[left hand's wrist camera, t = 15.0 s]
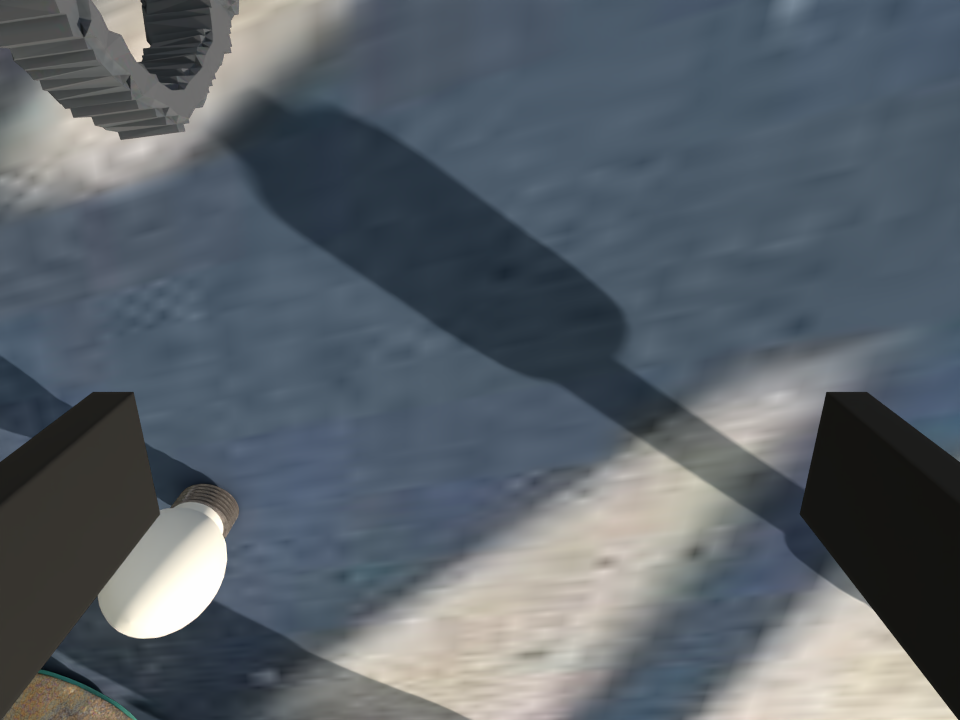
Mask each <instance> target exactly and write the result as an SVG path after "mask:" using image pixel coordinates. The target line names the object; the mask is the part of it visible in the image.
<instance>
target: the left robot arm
mask: <svg viewBox="0 0 960 720" xmlns="http://www.w3.org/2000/svg"><path fill="white" fill-rule="evenodd" d="M159 515H160V511H159V506H158V502H157V497H156V493H155V488H154V484H153V479H152V474H151V470H150V465H149V461H148V456H147V451H146V447H145V442H144V438H143V433H142V429H141V424H140V419H139V415H138V410H137V406H136V401H135V397H134V392H92V393H91V394H90V395H89V396H87V397H86V398H85V399H83V400H82V401H81V402H79V403H78V404H77V405H75V406H74V407H73V408H71V409H70V410H69V411H67V412H66V413H65V414H63V415H62V416H61V417H59V418H58V419H57V420H55V421H54V422H53V423H51V424H50V425H49V426H47V427H46V428H45V429H43V430H42V431H41V432H40V433H38V434H37V435H36V436H34V437H33V438H32V439H30V440H29V441H28V442H26V443H25V444H24V445H22V446H21V447H20V448H18V449H17V450H16V451H14V452H13V453H12V454H10V455H9V456H8V457H6V458H5V459H4V460H2V461H1V462H0V720H2V719H3V717H4V716H5V715H6V713H7V712H8V711H9V710H10V708H11V707H12V706H13V704H14V703H15V702H16V701H17V699H18V698H19V697H20V695H21V694H22V693H23V691H24V690H25V689H26V688H27V686H28V685H29V684H30V682H31V681H32V680H33V678H34V677H35V676H36V675H37V673H38V672H39V671H40V669H41V668H42V667H43V666H44V664H45V663H46V662H47V660H48V659H49V658H50V656H51V655H52V654H53V653H54V651H55V650H56V649H57V647H58V646H59V645H60V644H61V642H62V641H63V640H64V638H65V637H66V636H67V634H68V633H69V632H70V631H71V629H72V628H73V627H74V625H75V624H76V623H77V621H78V620H79V619H80V618H81V616H82V615H83V614H84V612H85V611H86V610H87V609H88V607H89V606H90V605H91V603H92V602H93V601H94V599H95V598H96V597H97V596H98V594H99V593H100V592H101V590H102V589H103V588H104V586H105V585H106V584H107V583H108V581H109V580H110V579H111V577H112V576H113V575H114V574H115V572H116V571H117V570H118V568H119V567H120V566H121V564H122V563H123V562H124V561H125V559H126V558H127V557H128V555H129V554H130V553H131V551H132V550H133V549H134V548H135V546H136V545H137V544H138V542H139V541H140V540H141V539H142V537H143V536H144V535H145V533H146V532H147V531H148V529H149V528H150V527H151V526H152V524H153V523H154V522H155V520H156V519H157V518H158V517H159ZM800 515H801V517H802V518H803V519H804V520H805V522H806V523H807V524H808V526H809V527H810V528H811V529H812V531H813V532H814V533H815V535H816V536H817V537H818V539H819V540H820V541H821V542H822V544H823V545H824V546H825V548H826V549H827V550H828V551H829V553H830V554H831V555H832V557H833V558H834V559H835V561H836V562H837V563H838V564H839V566H840V567H841V568H842V570H843V571H844V572H845V574H846V575H847V576H848V577H849V579H850V580H851V581H852V583H853V584H854V585H855V586H856V588H857V589H858V590H859V592H860V593H861V594H862V596H863V597H864V598H865V599H866V601H867V602H868V603H869V605H870V606H871V607H872V609H873V610H874V611H875V612H876V614H877V615H878V616H879V618H880V619H881V620H882V621H883V623H884V624H885V625H886V627H887V628H888V629H889V631H890V632H891V633H892V634H893V636H894V637H895V638H896V640H897V641H898V642H899V644H900V645H901V646H902V647H903V649H904V650H905V651H906V653H907V654H908V655H909V656H910V658H911V659H912V660H913V662H914V663H915V664H916V666H917V667H918V668H919V669H920V671H921V672H922V673H923V675H924V676H925V677H926V678H927V680H928V681H929V682H930V684H931V685H932V686H933V688H934V689H935V690H936V691H937V693H938V694H939V695H940V697H941V698H942V699H943V701H944V702H945V703H946V704H947V706H948V707H949V708H950V710H951V711H952V712H953V713H954V715H955V716H956V717H957V719H958V720H960V462H959V461H958V460H956V459H955V458H954V457H952V456H951V455H950V454H948V453H947V452H946V451H944V450H943V449H942V448H940V447H939V446H938V445H936V444H935V443H934V442H932V441H931V440H930V439H928V438H927V437H926V436H924V435H923V434H922V433H920V432H919V431H918V430H917V429H915V428H914V427H913V426H911V425H910V424H909V423H907V422H906V421H905V420H903V419H902V418H901V417H899V416H898V415H897V414H895V413H894V412H893V411H891V410H890V409H889V408H887V407H886V406H885V405H883V404H882V403H881V402H879V401H878V400H877V399H875V398H874V397H873V396H871V395H870V394H869V393H868V392H826V397H825V401H824V406H823V410H822V415H821V419H820V424H819V429H818V433H817V438H816V442H815V447H814V451H813V456H812V461H811V465H810V470H809V474H808V479H807V484H806V488H805V493H804V497H803V502H802V506H801V511H800Z"/></svg>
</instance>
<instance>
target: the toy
mask: <svg viewBox="0 0 960 720" xmlns="http://www.w3.org/2000/svg"><path fill="white" fill-rule="evenodd" d="M141 3H142V11H143V18H144V25H145V32H146V39H147V42H148V43H149V44H150V45H151V46H150V48H144V49H143V53H144V55H143V56H142V58H143V60H142V62H136V61H135V59H134V57H133V56H132V54H131V53H130V51H129V49H128V47H127V45H126V43H125V41H124V39H123V37H122V35H120V34H117V33H114V32H112V31H109V30H108V28H107V26H106V24H105V22H104V20H103V18H102V15H101V13H100V12H99V11H98V9H97V8H96V6H95V5H94V3H93V2H92V1H91V0H0V47H1V48H9V49H10V51H11V53H12V57H13V60H14V61H15V62H16V63H17V64H18V65H19V66H20V67H22V68H23V69H24V70H26V71H27V73H28V74H29V75H30V76H31V77H32V79H33V80H40V83H41V86H42V89H43V90H45V91H48V92H49V93H50V94H51V95H52V96H53V97H54V98H55V99H56V100H57V101H58V102H59V103H60V104H62V105H63V107H64V108H65V109H68V108H70V109H71V112H72V115H73V118H78V117H92V119H93V122H94V124H95V126H100V127H103V128H104V129H105V130H109V131H115V132H118V133H119V136H120V139H121V140H124V139H132V138H139V137H147V136H154V135H162V134H169V133H177V132H184V131H185V128H184V125H183V124H186V123H189V118H190V116H191V114H192V113H193V111H194V109H195V108H200V107H203V105H204V103H205V101H206V97H207V93H209V86H213V85H212V79H216V78H215V72H217V70H218V68H219V66H221V65H222V61H223V57H224V54H227V53H231V49H230V47H232V44H231V40H230V36H229V34H231V32H230V27H231V20H232V18H233V16H234V15H237V14H239V0H141Z"/></svg>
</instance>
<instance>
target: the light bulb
mask: <svg viewBox="0 0 960 720" xmlns="http://www.w3.org/2000/svg"><path fill="white" fill-rule="evenodd" d="M159 511H160V515H159V517H158V518H157V519H156V520H155V522H154V523H153V524H152V526H151V527H150V528H149V529H148V531H147V532H146V533H145V535H144V536H143V537H142V539H141V540H140V541H139V542H138V544H137V545H136V546H135V548H134V549H133V550H132V551H131V553H130V554H129V555H128V557H127V558H126V559H125V561H124V562H123V563H122V564H121V566H120V567H119V568H118V570H117V571H116V572H115V574H114V575H113V576H112V577H111V579H110V580H109V581H108V583H107V584H106V585H105V586H104V588H103V589H102V590H101V592H100V593H99V594H98V600H99V606H100V609H101V611H102V613H103V615H104V617H105V618H106V620H107V621H108V623H109V624H110V625H111V626H112V627H113V628H115V629H116V630H117V631H119V632H121V633H122V634H124V635H127V636H130V637H134V638H143V639H144V638H157V637H161V636H165V635H168V634H170V633H173V632H175V631H177V630H180V629H181V628H183V627H184V626H186V625H187V624H189V623H190V622H192V621H193V620H194V619H196V618H197V617H198V616H199V615H200V614H201V613H202V612H203V611H204V610H205V609H206V607H207V606H208V605H209V604H210V603H211V601H212V600H213V598H214V597H215V595H216V593H217V591H218V589H219V587H220V585H221V582H222V580H223V578H224V573H225V568H226V562H227V552H226V543H225V540H224V538H225V537H226V536H227V534H228V533H229V531H230V529H231V527H232V526H233V524H234V522H235V520H236V519H237V517H238V514H239V508H238V504H237V502H236V500H235V499H234V498H233V497H232V496H231V495H230V494H229V493H228V492H227V491H225V490H223V489H221V488H219V487H217V486H213V485H209V484H197V485H193V486H190V487H188V488H186V489H185V490H184V491H183V492H182V493H181V495H180V496H179V497H178V498H177V500H176V501H175V502H174V504H173V505H172V506H171V508H167V509H163V510H159Z"/></svg>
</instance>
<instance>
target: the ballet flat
mask: <svg viewBox="0 0 960 720" xmlns="http://www.w3.org/2000/svg"><path fill="white" fill-rule="evenodd" d="M2 720H137V719H136V718H135V717H134V716H133V715H132V714H131V713H130V712H129V711H127V710H126V709H125V708H124V707H123V706H121V705H120V704H118V703H117V702H115V701H114V700H112V699H110V698H109V697H107V696H105V695H103V694H102V693H100V692H98V691H96V690H94V689H92V688H90V687H88V686H86V685H84V684H82V683H80V682H77V681H75V680H72V679H70V678H67V677H64V676H61V675H59V674H56V673H53V672H49V671H45V670H41V669H40V671H39V672H38V673H37V675H36V676H35V677H34V678H33V680H32V681H31V682H30V684H29V685H28V686H27V688H26V689H25V690H24V691H23V693H22V694H21V695H20V697H19V698H18V699H17V701H16V702H15V703H14V704H13V706H12V707H11V708H10V710H9V711H8V712H7V713H6V715H5V716H4V717H3V719H2Z"/></svg>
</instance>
